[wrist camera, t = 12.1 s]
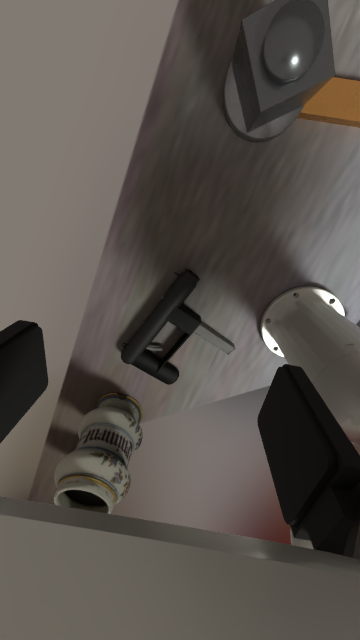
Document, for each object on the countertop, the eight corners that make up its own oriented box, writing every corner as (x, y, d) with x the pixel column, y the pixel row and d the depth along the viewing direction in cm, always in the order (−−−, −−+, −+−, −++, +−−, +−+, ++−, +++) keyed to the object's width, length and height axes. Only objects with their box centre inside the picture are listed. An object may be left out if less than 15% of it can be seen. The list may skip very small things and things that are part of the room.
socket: (292, 30, 23) (331, -43, 16) (303, 105, 26) (341, 68, 19) (231, 64, 25) (244, 10, 18) (247, 133, 27) (263, 107, 20)
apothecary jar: (149, 392, 47) (124, 489, 31) (146, 434, 52) (123, 535, 36) (90, 384, 47) (33, 476, 31) (92, 426, 52) (45, 524, 36)
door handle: (261, 326, 37) (178, 266, 33) (185, 400, 45) (110, 358, 40) (255, 316, 40) (179, 260, 36) (185, 387, 48) (115, 347, 43)
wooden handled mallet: (443, 64, 25) (495, 34, 21) (397, 164, 29) (433, 156, 24) (233, 31, 25) (241, -6, 21) (216, 136, 29) (219, 123, 24)
